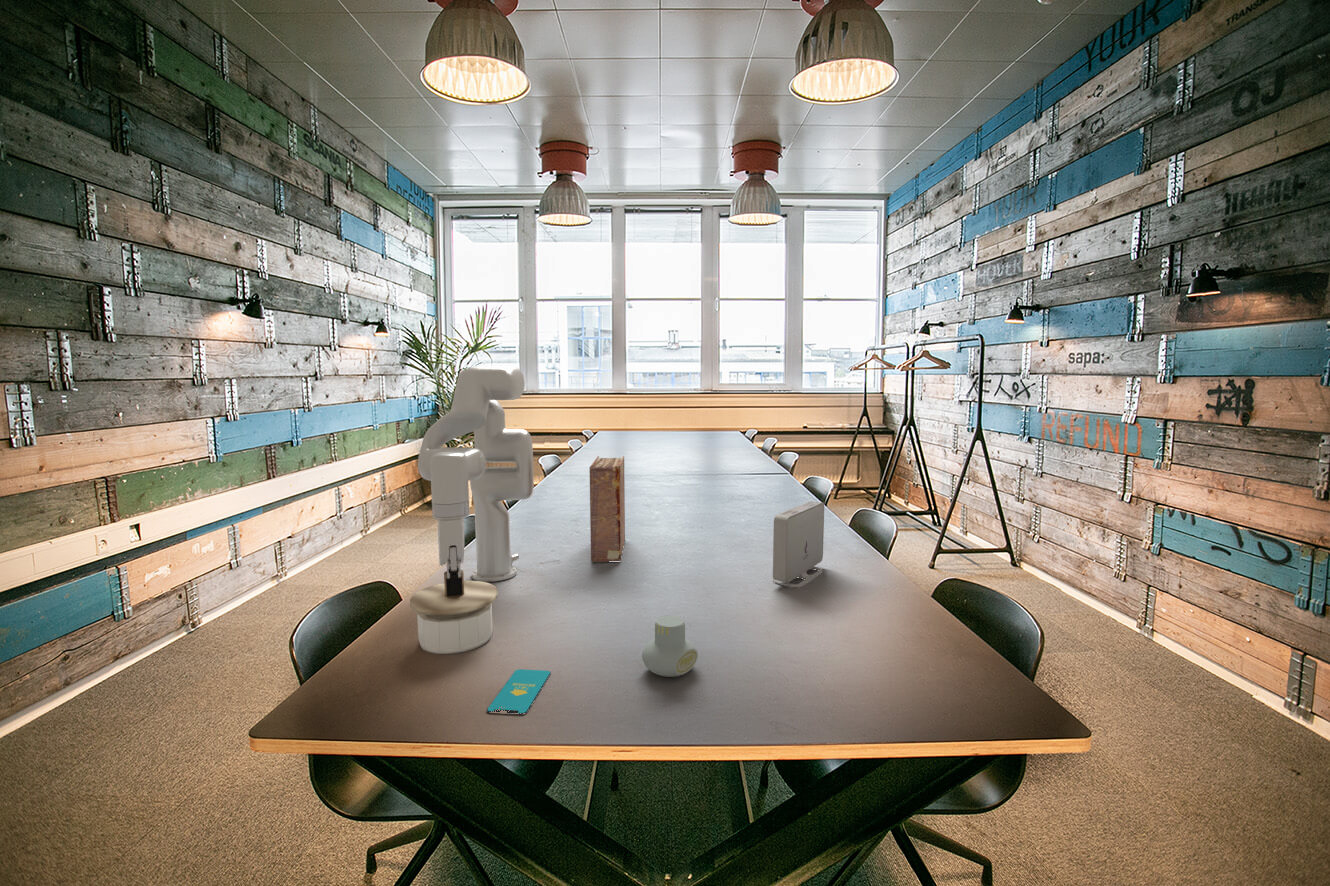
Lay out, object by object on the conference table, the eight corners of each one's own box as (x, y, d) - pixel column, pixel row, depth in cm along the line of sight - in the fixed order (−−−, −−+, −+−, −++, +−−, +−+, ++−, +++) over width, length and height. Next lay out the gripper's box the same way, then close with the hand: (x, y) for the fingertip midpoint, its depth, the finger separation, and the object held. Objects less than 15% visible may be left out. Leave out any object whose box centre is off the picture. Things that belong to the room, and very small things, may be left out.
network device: (792, 592, 158) (794, 519, 156) (763, 585, 164) (764, 514, 161) (829, 567, 178) (831, 502, 176) (802, 562, 184) (804, 498, 182)
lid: (449, 581, 142) (448, 556, 141) (513, 590, 135) (513, 564, 135) (390, 608, 125) (389, 580, 124) (461, 620, 119) (459, 591, 118)
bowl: (452, 620, 141) (450, 591, 140) (505, 629, 136) (504, 600, 135) (404, 647, 127) (402, 615, 126) (461, 658, 122) (460, 626, 121)
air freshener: (671, 653, 124) (670, 607, 123) (703, 665, 119) (703, 617, 117) (635, 674, 115) (635, 624, 114) (668, 688, 110) (668, 636, 109)
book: (599, 540, 209) (597, 456, 205) (625, 540, 209) (624, 455, 206) (590, 563, 184) (589, 467, 180) (620, 563, 184) (619, 467, 180)
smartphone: (551, 669, 116) (525, 712, 101) (552, 673, 116) (526, 717, 101) (515, 668, 117) (484, 711, 102) (516, 672, 117) (485, 715, 102)
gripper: (432, 503, 134) (436, 581, 136) (431, 519, 119) (435, 607, 121) (467, 500, 137) (470, 577, 139) (471, 516, 121) (474, 602, 123)
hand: (454, 590), depth 130 cm, fingers closed on lid, 4 cm apart
